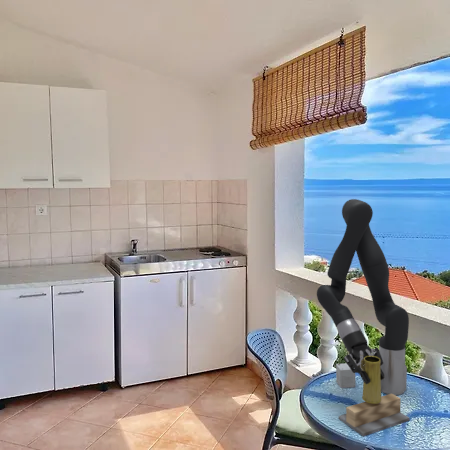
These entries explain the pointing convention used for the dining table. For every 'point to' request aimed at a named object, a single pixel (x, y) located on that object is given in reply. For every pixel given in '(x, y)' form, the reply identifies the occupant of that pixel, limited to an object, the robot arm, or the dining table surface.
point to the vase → (372, 380)
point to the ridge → (374, 415)
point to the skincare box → (345, 376)
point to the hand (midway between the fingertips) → (375, 380)
